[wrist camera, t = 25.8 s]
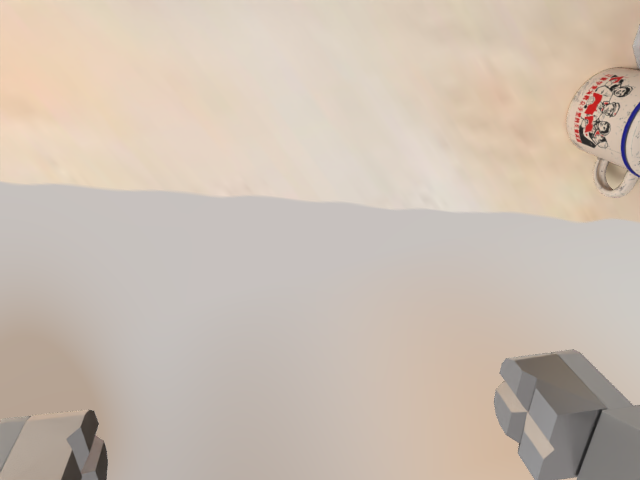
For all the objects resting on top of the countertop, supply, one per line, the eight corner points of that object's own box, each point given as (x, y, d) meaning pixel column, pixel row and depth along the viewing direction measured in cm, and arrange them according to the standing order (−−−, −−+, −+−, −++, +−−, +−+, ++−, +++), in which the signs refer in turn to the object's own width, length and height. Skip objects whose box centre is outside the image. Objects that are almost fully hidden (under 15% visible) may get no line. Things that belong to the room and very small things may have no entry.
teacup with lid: (584, 56, 46) (686, 72, 35) (659, 72, 48) (776, 91, 37) (538, 173, 51) (615, 216, 40) (608, 183, 53) (698, 226, 42)
